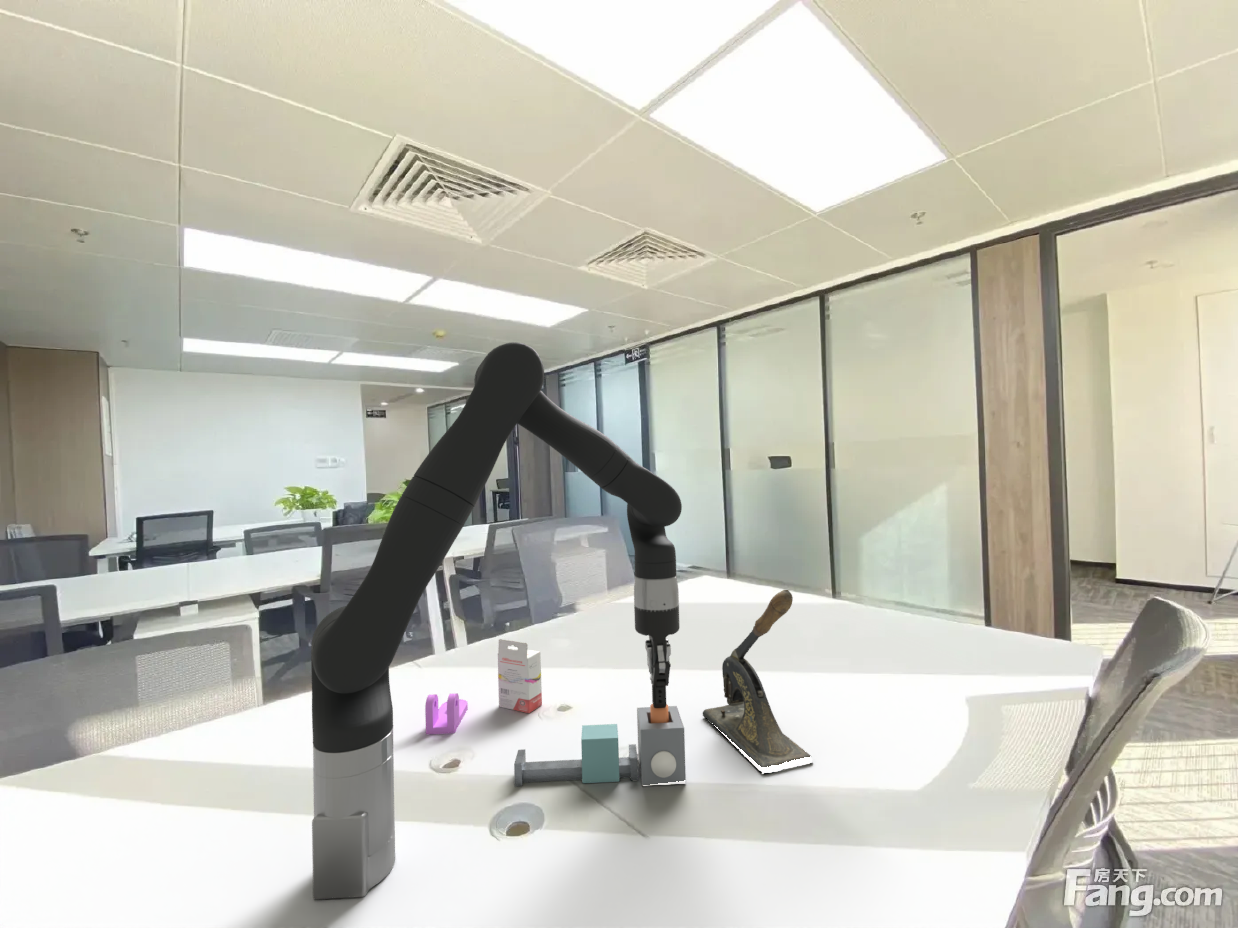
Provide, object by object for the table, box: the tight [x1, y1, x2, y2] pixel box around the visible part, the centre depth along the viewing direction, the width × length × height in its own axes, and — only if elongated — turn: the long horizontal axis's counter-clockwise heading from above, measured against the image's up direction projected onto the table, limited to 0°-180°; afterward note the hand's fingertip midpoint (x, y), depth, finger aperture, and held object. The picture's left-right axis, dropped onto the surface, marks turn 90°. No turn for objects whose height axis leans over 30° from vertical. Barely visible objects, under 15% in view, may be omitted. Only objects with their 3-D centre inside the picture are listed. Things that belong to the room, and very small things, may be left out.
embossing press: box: [702, 589, 811, 767], centre depth 98 cm, size 11×24×30 cm, turn 15°
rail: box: [513, 743, 639, 787], centre depth 87 cm, size 4×20×4 cm, turn 92°
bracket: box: [424, 692, 469, 735], centre depth 110 cm, size 13×6×7 cm, turn 3°
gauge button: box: [649, 703, 669, 723], centre depth 88 cm, size 3×3×4 cm
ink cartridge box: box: [497, 638, 543, 714], centre depth 115 cm, size 9×5×15 cm, turn 62°
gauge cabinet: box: [636, 705, 687, 786], centre depth 88 cm, size 8×7×9 cm
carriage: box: [580, 723, 620, 784], centre depth 88 cm, size 5×6×7 cm
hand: (659, 705), depth 88 cm, fingers closed
